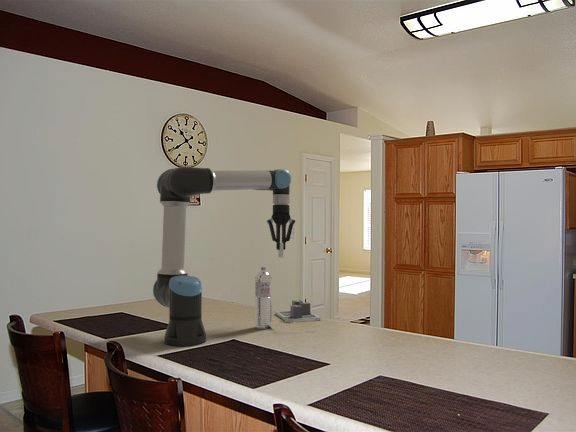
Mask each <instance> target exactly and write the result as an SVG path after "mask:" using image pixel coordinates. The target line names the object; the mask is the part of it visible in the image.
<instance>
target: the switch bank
mask: <svg viewBox="0 0 576 432" xmlns="http://www.w3.org/2000/svg"><path fill="white" fill-rule="evenodd" d="M274 315H276V316H277V317H278V318H280V319H281V320H283V321H284V322H286V323H299V322H301V323H302V322H314V321H315V322H316V321H321V317H320V316H319V315H316V314H315V313H314V312H311V311H310V315H302V318H295V319H290V310H280V311H274Z"/></svg>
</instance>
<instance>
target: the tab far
mask: <svg viewBox="0 0 576 432" xmlns="http://www.w3.org/2000/svg"><path fill="white" fill-rule="evenodd" d="M303 302H304V301H303V300H300V299H299V300H291V305H299V303H303Z"/></svg>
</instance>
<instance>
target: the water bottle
mask: <svg viewBox="0 0 576 432" xmlns="http://www.w3.org/2000/svg"><path fill="white" fill-rule="evenodd" d="M260 269H261V270H260V271H259V272H258V273H257V274H256V276H255V278H254V279H255V280H254V281H255V283H254V284H255V287H254V288H255V290H254V291H255V293H254V294H255V297H254V327H255V328H256V329H258V330H269V329H271V328H272V327H271V325H272V323H273V322H272V316H273V315H272V309H273V308H272V306H273V305H272V302H273V301H272V300H273V299H272V275H270V273H269V272H268V271H266V266H262V267H260Z"/></svg>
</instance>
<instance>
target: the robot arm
mask: <svg viewBox="0 0 576 432" xmlns="http://www.w3.org/2000/svg"><path fill="white" fill-rule="evenodd" d="M291 183H292V176H291V174H290V170H288V169H284V168H281V169H274V170H212V169H211V168H209V167H207V168H206V167H194V166H193V167H192V166H179V167H175V168H174V167H173V168H169V169H167V170H165V171H163V172H162V173H161V174H160V175H159V176H158V178H157V182H156V188H157V191H158V193H159V203H160V204H161V205H162V207H163V216H162V217H163V218H162V243H161V244H162V246H161V268H160V269H159V270H158V271H157V272H156V273H157V275H156V280H155V282H154V284H153V286H152V294H153V297H154V298H155V300H156V302H157V303H159V305H161V306H162V307H165V308H168V309H169V310H168V311H169V312H168V316H169V317H168V318H169V319H168V324H167V327H166V330H165V334H164V337H163V338H164V339H163V342H164V344H166V345H167V346H173V347H174V346H176V347H187V346H196V345H197V346H198V345H201V344H203V343H206V341H207V331H206V330H205V326H204V322H203V319H202V318H203V317H202V315H203V314H202V308H203V307H202V305H203V304H202V302H203V300H202V299H203V298H202V297H203V296H202V295H203V287H202V281H201V279H200V278H199V277H196V276H192V275H191V276H190V275H188V274H189V272H188V271H187V270H186V269H185V250H186V249H185V248H186V246H185V245H186V223H187V222H186V220H187V207H189V205H190V204H191V197H194V196H198V195H204V194H205V195H207V194H211V193H212V192H214V191H241V190H253V191H270V192H272V204H273V205H272V215H271V218H269V219H267V220H266V223H267V225H268V228H269V231H270V236H271V239H272V241H273V242H275V243H276V244H275V245H276V246H275V247H276V250H277V251H278V258H284V251H285V250H286V243H287V242H289V241H291V235H292V232H293V228H294V227H293V226H294V225H295V223H296V220H295V219H293V218H292V216H291V215H290V205H289V204H290V201H291V199H290V192H291V191H290V190H291V189H290V186H291ZM273 223H274V224H275V228H274V224H273ZM288 223H289V224H288ZM287 224H288V228H287Z"/></svg>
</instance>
